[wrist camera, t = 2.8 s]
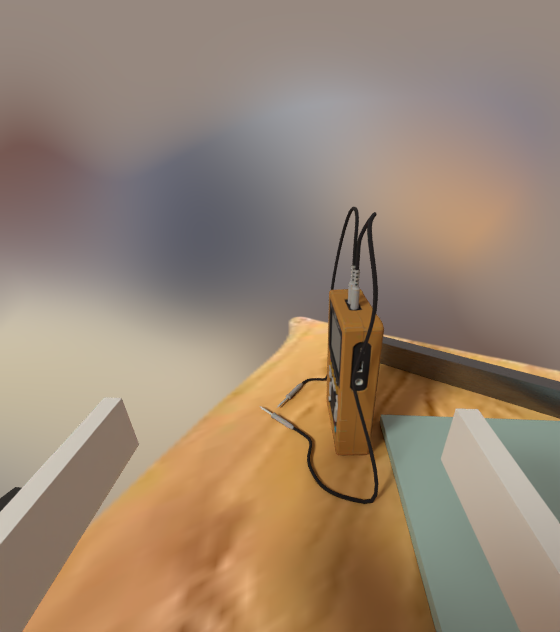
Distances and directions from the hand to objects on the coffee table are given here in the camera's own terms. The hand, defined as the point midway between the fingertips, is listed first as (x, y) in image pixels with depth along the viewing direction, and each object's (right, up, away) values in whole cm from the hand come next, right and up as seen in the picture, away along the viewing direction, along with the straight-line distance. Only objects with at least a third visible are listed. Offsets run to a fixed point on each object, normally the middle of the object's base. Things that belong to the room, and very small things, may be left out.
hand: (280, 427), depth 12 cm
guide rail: (+20, -3, +21) cm, 29 cm away
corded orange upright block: (+3, -7, +17) cm, 18 cm away
